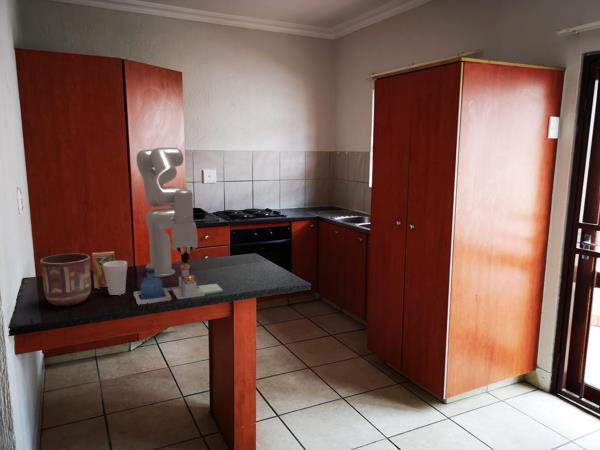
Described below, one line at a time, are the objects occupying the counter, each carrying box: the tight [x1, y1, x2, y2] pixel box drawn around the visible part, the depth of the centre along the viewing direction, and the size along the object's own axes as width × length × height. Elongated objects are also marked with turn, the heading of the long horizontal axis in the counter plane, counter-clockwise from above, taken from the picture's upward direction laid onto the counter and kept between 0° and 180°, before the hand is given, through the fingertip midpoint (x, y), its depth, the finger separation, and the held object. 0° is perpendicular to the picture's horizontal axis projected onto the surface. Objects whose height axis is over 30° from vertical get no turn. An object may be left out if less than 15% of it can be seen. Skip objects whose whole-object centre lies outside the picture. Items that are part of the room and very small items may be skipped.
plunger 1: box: [179, 263, 191, 279], centre depth 197 cm, size 4×4×7 cm
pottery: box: [39, 252, 92, 307], centre depth 182 cm, size 18×18×18 cm
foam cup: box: [103, 260, 128, 296], centre depth 193 cm, size 10×9×13 cm
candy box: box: [91, 251, 116, 289], centre depth 202 cm, size 9×4×15 cm, turn 110°
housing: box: [133, 275, 206, 306], centre depth 191 cm, size 26×14×6 cm, turn 116°
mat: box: [197, 283, 224, 295], centre depth 199 cm, size 10×10×1 cm
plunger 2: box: [184, 274, 195, 284], centre depth 190 cm, size 4×4×7 cm
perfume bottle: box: [140, 268, 164, 300], centre depth 187 cm, size 6×6×12 cm
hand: (185, 262), depth 195 cm, fingers closed
